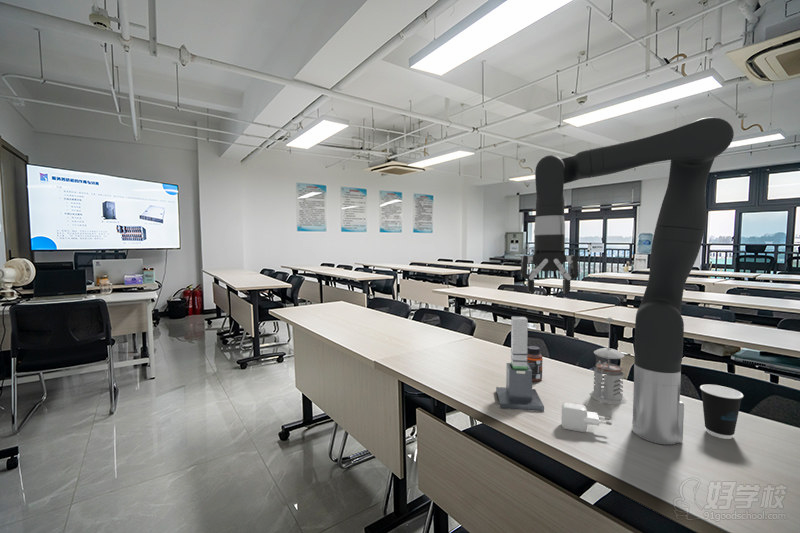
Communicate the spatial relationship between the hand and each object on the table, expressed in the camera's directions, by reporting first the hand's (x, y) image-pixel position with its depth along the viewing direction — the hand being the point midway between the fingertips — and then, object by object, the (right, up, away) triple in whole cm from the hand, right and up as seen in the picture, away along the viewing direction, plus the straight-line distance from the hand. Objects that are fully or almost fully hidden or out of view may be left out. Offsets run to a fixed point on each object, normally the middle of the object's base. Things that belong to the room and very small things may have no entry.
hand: (548, 293), depth 95 cm
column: (-4, -26, +11) cm, 29 cm away
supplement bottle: (+7, -33, +29) cm, 44 cm away
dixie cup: (+39, -35, -8) cm, 53 cm away
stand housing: (-4, -34, +12) cm, 36 cm away
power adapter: (+7, -35, -5) cm, 36 cm away
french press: (+23, -33, +13) cm, 43 cm away
